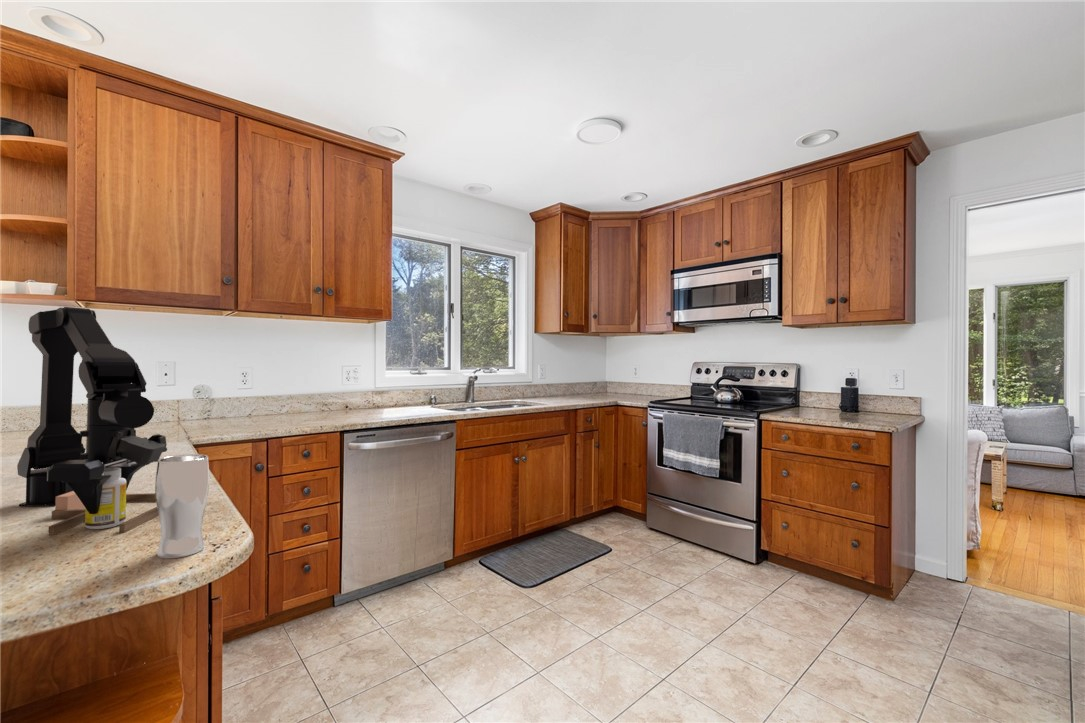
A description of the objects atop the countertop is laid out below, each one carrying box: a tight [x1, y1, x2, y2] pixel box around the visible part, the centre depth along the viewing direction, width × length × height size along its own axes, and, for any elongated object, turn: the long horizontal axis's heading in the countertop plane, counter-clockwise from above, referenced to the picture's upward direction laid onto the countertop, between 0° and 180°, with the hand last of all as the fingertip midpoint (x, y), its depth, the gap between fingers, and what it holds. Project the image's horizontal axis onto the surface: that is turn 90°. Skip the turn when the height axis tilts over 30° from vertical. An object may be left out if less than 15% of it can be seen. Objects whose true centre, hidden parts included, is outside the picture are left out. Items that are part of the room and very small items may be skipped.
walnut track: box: [47, 492, 159, 536], centre depth 93 cm, size 18×21×2 cm
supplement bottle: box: [84, 468, 127, 530], centre depth 88 cm, size 6×6×10 cm
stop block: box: [54, 491, 85, 510], centre depth 97 cm, size 2×10×4 cm, turn 10°
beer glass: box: [154, 453, 210, 560], centre depth 77 cm, size 7×7×15 cm
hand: (105, 508), depth 88 cm, fingers closed on supplement bottle, 6 cm apart
